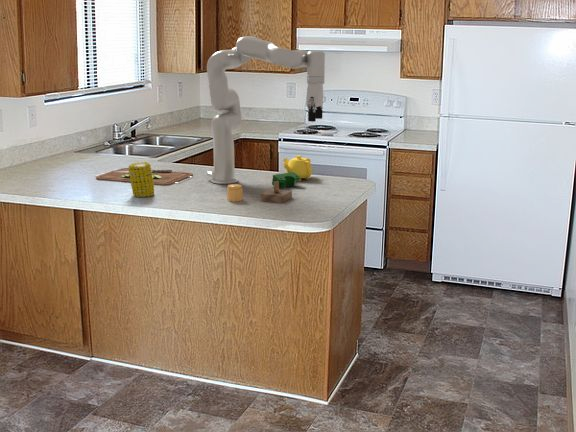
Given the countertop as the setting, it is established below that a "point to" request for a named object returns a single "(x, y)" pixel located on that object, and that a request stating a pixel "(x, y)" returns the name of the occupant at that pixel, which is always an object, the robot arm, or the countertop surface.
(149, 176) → the food
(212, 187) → the countertop surface
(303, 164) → the teapot
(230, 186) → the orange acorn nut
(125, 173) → the chopping board
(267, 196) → the post block
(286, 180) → the clamp
